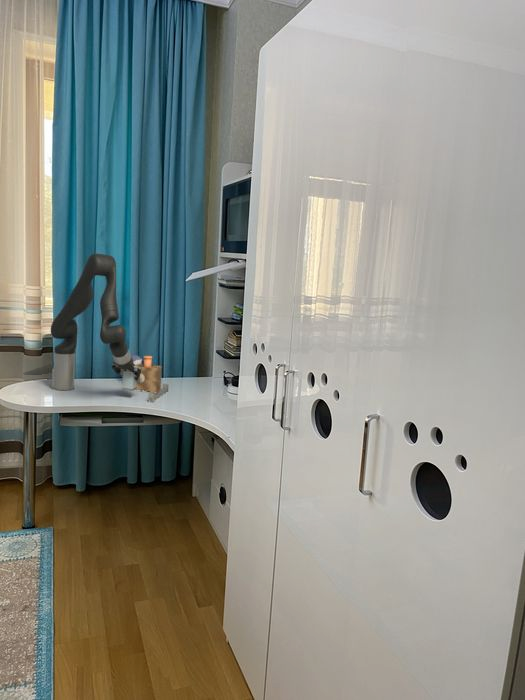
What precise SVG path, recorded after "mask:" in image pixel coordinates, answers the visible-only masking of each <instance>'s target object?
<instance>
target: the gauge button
mask: <svg viewBox="0 0 525 700" xmlns="http://www.w3.org/2000/svg"><path fill="white" fill-rule="evenodd" d="M143 361H144V367H150V368H151V365H152V361H153V356H152V355H144V356H143Z"/></svg>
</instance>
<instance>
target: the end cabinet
mask: <svg viewBox="0 0 525 700" xmlns="http://www.w3.org/2000/svg"><path fill="white" fill-rule="evenodd" d="M139 365H141V366H142V367H141V374H140V376H139V379H138V380H137V389H135V390H144V391H150V392H149V393H151V392H157V391H159V390H160V389H162V368H163V367H162V366H163V365H152V364H151V368H150V367H144V364H137V365H135V366H138V367H139Z"/></svg>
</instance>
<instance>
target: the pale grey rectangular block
mask: <svg viewBox="0 0 525 700" xmlns="http://www.w3.org/2000/svg"><path fill="white" fill-rule="evenodd" d="M121 383H122V385H121V390H122V391H129V392H130V391H131V392H133V391H134V390H135V389H137V381H136V380H135V378H134V376H133V375H131V374H130V373H129V372H125V371H124V372H123V377H122V381H121ZM134 392H135V391H134Z"/></svg>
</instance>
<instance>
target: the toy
mask: <svg viewBox="0 0 525 700" xmlns="http://www.w3.org/2000/svg"><path fill="white" fill-rule="evenodd" d="M131 356H132V359H133V363H134V364H135V365H137V364H144V358H141V356H139V355H137V354H134V355H131Z"/></svg>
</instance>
